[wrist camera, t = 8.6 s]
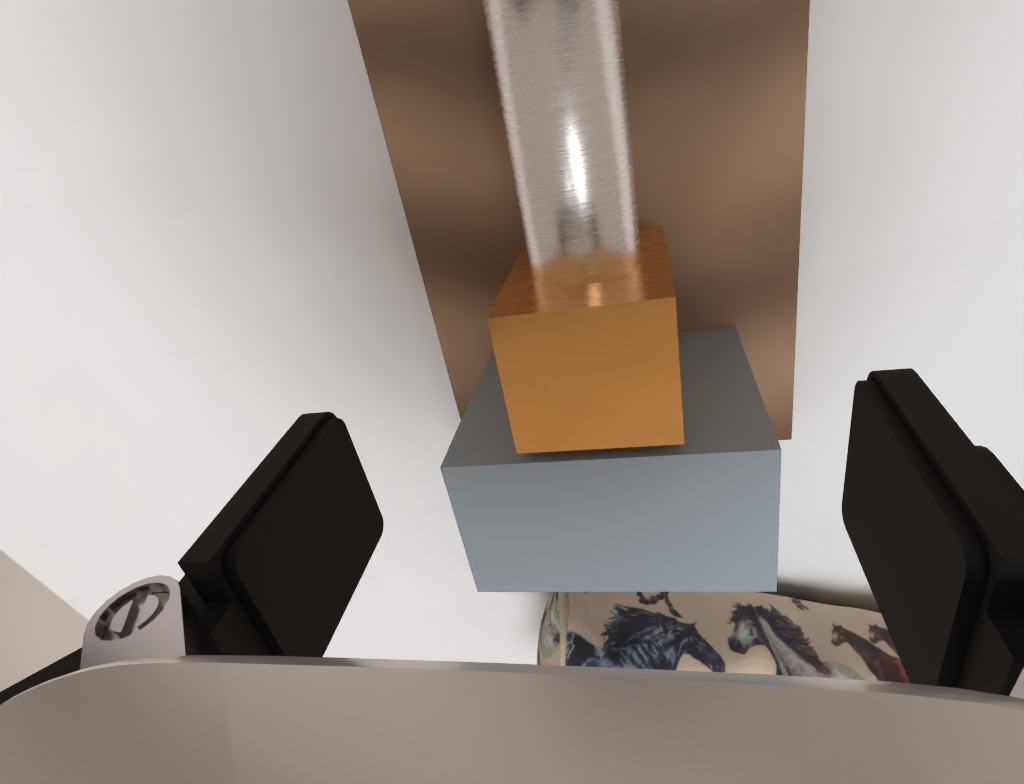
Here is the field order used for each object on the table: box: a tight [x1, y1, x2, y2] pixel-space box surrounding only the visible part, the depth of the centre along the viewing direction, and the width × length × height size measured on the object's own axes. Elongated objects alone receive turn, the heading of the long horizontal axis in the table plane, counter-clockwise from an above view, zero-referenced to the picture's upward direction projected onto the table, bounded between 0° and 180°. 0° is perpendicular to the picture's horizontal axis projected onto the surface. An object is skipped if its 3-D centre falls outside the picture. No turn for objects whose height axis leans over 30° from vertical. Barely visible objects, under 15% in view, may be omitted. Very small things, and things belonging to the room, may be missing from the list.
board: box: [348, 0, 810, 440], centre depth 18 cm, size 30×13×2 cm, turn 11°
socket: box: [440, 327, 781, 592], centre depth 20 cm, size 5×9×8 cm, turn 101°
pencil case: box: [537, 592, 910, 683], centre depth 26 cm, size 22×8×10 cm, turn 86°
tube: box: [482, 0, 684, 454], centre depth 16 cm, size 18×4×6 cm, turn 11°
